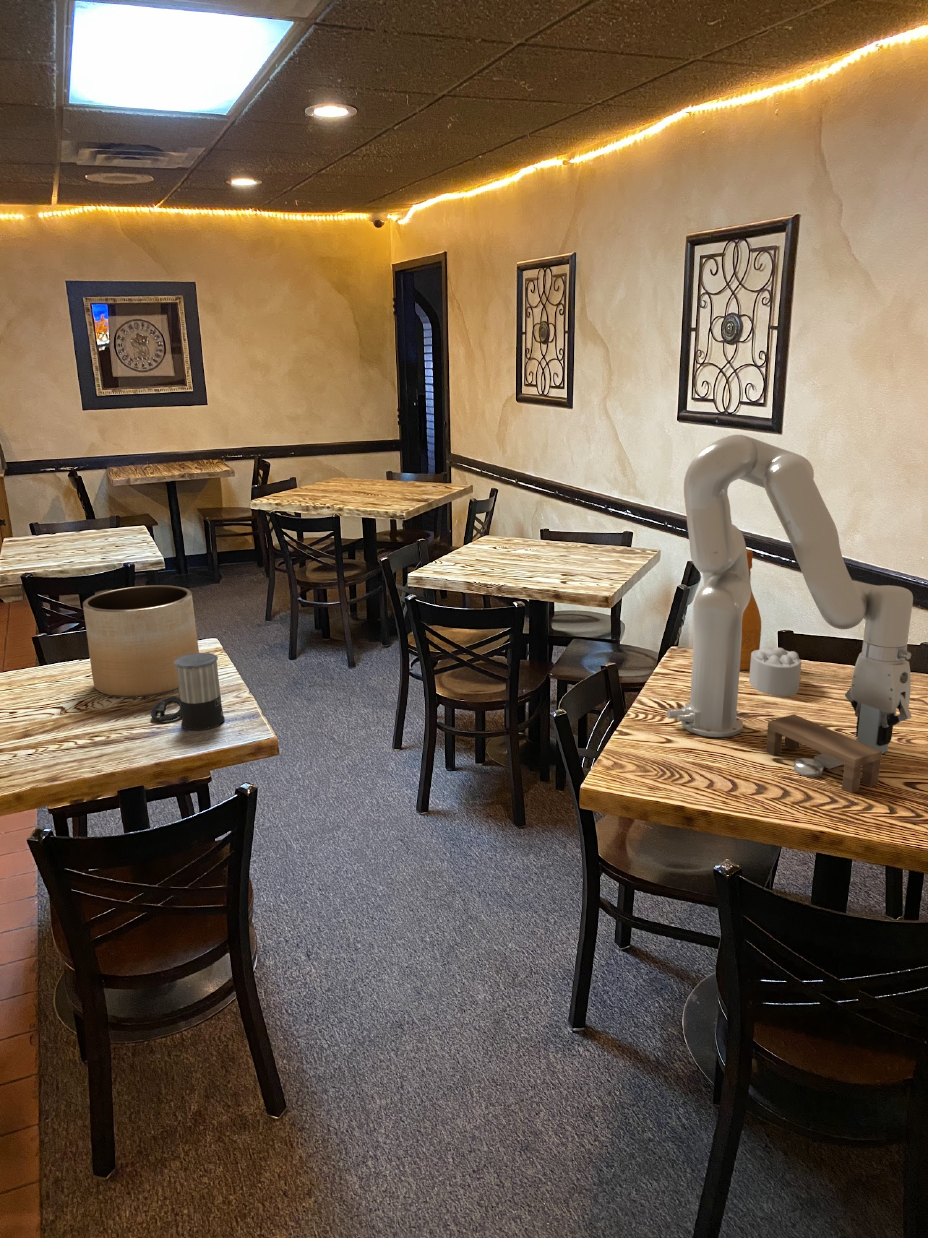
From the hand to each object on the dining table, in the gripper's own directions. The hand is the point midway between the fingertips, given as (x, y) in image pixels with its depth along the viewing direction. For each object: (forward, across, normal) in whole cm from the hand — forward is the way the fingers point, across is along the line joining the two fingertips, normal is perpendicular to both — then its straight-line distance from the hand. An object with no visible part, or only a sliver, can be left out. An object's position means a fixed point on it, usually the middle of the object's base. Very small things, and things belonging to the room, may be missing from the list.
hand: (872, 739), depth 169 cm
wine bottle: (+3, +51, -15) cm, 53 cm away
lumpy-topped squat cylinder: (+3, +35, -11) cm, 37 cm away
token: (+3, 0, +18) cm, 18 cm away
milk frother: (+3, +85, +115) cm, 143 cm away
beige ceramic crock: (+3, +115, +119) cm, 166 cm away
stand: (+3, 0, +14) cm, 15 cm away
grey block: (+2, 0, +6) cm, 6 cm away
